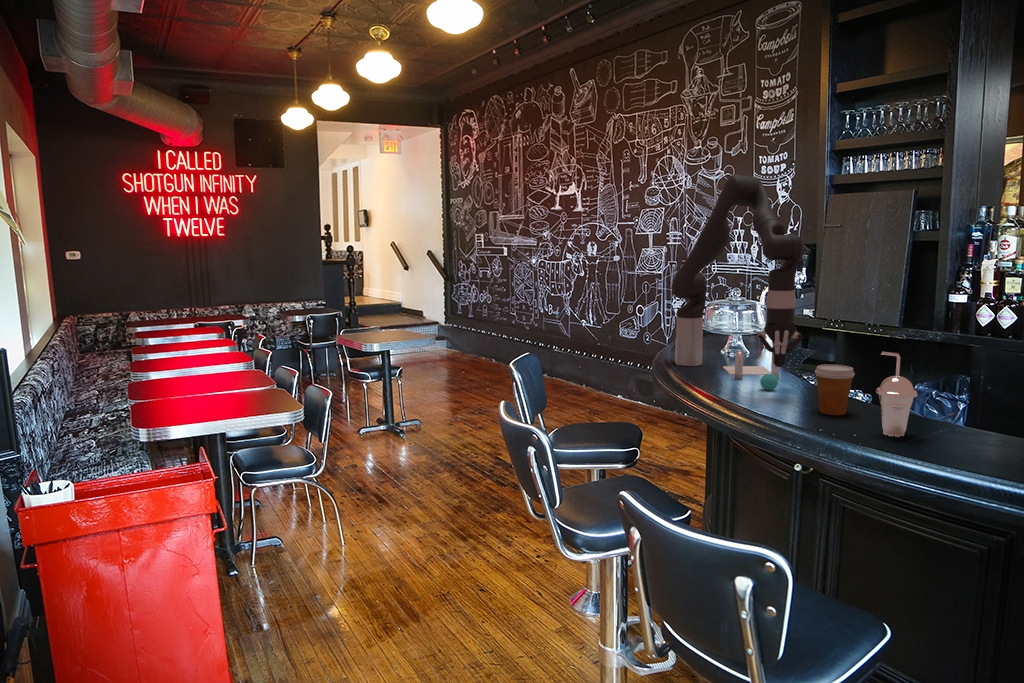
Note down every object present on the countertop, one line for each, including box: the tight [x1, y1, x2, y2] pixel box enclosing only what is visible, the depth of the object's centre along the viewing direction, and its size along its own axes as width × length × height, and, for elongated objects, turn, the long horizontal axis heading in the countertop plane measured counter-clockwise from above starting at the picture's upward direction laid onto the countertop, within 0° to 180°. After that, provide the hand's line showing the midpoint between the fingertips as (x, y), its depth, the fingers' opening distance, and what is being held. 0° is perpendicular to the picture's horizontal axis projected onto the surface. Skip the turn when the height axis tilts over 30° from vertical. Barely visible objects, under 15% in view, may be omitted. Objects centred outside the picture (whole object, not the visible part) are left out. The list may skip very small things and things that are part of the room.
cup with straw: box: [875, 350, 918, 438], centre depth 163 cm, size 8×9×20 cm
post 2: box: [770, 352, 780, 381], centre depth 226 cm, size 2×2×9 cm
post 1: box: [734, 350, 744, 381], centre depth 228 cm, size 2×2×9 cm
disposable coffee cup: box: [814, 364, 856, 416], centre depth 184 cm, size 10×10×12 cm
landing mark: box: [722, 365, 771, 376], centre depth 241 cm, size 14×14×1 cm
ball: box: [759, 374, 779, 391], centre depth 212 cm, size 5×5×5 cm
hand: (778, 366), depth 201 cm, fingers closed
